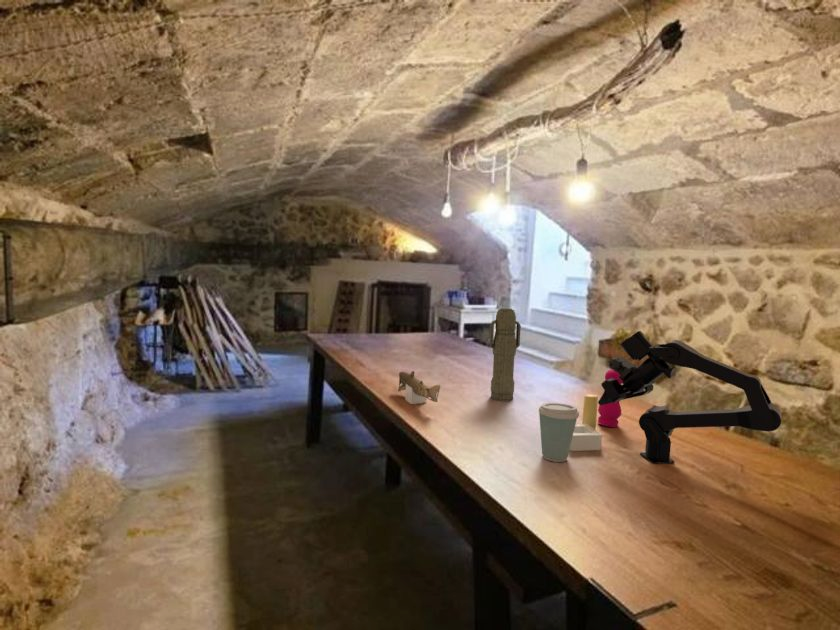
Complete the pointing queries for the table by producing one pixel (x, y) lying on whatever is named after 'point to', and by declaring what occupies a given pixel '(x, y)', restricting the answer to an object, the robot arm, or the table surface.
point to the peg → (590, 410)
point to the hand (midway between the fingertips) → (608, 401)
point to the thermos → (504, 353)
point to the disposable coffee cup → (557, 430)
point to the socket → (585, 438)
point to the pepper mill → (610, 405)
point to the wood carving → (416, 389)
